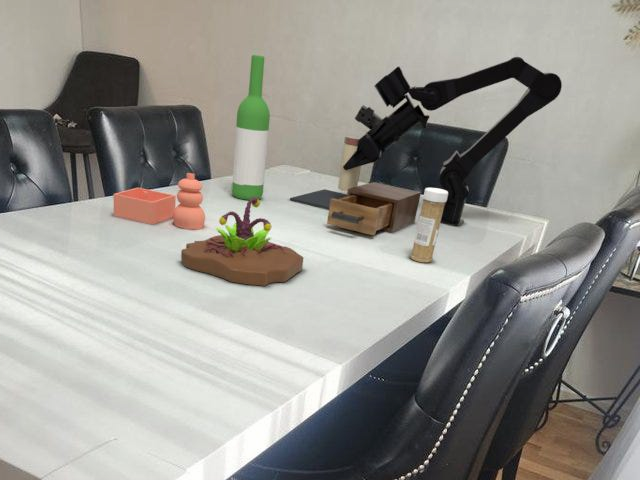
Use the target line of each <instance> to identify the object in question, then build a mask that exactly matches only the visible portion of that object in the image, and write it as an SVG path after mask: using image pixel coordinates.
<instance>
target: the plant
mask: <svg viewBox="0 0 640 480" xmlns="http://www.w3.org/2000/svg"><path fill="white" fill-rule="evenodd" d="M260 205H261V201H260V199H258V198H256V197H252V198H250V200H248V202H246V206H245V208H244V213H243V219H241V216H240V215H239V214H238V213H237V212H236V211H232V210H231V211H228V212H227V213H225V214H223V215H221V216H220V218H219V220H218V222H219V224H220V225H221V226H225V229H226V231H227V232H228V233H227V232H226V231H225V230H223V229H221V228H218V227H215V230H216V231H217V233H219V235H214V236H212V237H209V238H207V239H205V240H195V241H194V242H189V243H186V245H185V248H182V249H181V254H180V255H181V256H180V260H181V261H180V262H181V263H182V264H183V266H184V267H186V268H187V269H190V270H193V271H197V272H201V273H205V274H209V275H212V276H215V277H218V278H221V279H224V280H226V281H228V282H231V283H236V284H244V285H251V286H261V287H266V286H267V285H269V284H273V283H285V282H287V281H288V280H290V279H291V278H292V277H294V276H295V275H296V274H299V273H300V272H301V271H303V266H304V264H303V263H304V256H302V255H301V254H299V253H298V252H296V250H294V249H292V248H290V247H288V246H283V245H280V244H277V243H274V242H271V241H270V240H271V239H272V237H267V235H268V234H269V233H270V231H271V229H272V224H271V222H270V221H269V220H268V219H265V218H262V217H259V218H255V219H254V220H252V221H251V218H250V217H251V215H250V214H251V209H252V206H253V208H259V207H260ZM229 216H232V217H234V220H235V223H233V225H232V227H231V226H229V225H227V222H228V218H229ZM259 223H262V225H263V228H262V229H260V230H258V231H257V232H256V233H255V232H254V227H255V226H256V225H257V224H259Z"/></svg>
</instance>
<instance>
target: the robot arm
mask: <svg viewBox="0 0 640 480" xmlns="http://www.w3.org/2000/svg"><path fill="white" fill-rule="evenodd" d="M403 72H404V71H403V70H402V68H401V66H400V65H399V66H396V68H394V69H393V70H392V71H391V72H389V73H388V74H386V75H384V76H383V77H382V78H381V79H380V80H379V81H378V82H376V83H375V84H374V86H373V87H374V88H375V90H376V91H377V94H378V95H379V96H380V99H381V100H382V101H383V103H384V104H385V106H386V108H388V107H389V106H390V107H392V109H394V108H396V107H397V106H398V105H399V104H400V103H401V102H403V101H404V100H406V101H405V102H404V103H402V104H401V105H400V106H399V107H398V108H396V109H395V110H394V111H392V113H390V114H389V115H388V116H385V117H383V118H381V117H380V116H379V115H378V114H377V113H376V112H375V109H372V108H371V106H368V107H367V106H366V105H365V104H363V105H361V107H360V109H358V112H357V113H356V115H355V117H354V120H355V121H356V122H358V123H360V124H362V125H364V126H365V127H366V128H367V129H369V130H368V131H366V133H365V134H363V135H362V136H360V137H361V138H360V139H359V140H358V147H357V151H356V152H355V153H354V154H353V155H352V157H351V158H350V159H349V160H348V161H347V162H346V164H345V165H344V166H343V168H344V169H345V170H349V169H352V168H355V167H359V166H361V167H362V166H365V165H369V164H374V163H375V162H377V161H378V160H379V159H380V158H381V156H382V154H383V153H384V152H386V151H387V150H388V149H389V148H390V147H391V146H392V145H394V144H396V142H398V141H399V140H401V138H403V137H404V136H405V135H406V134H407V133H410V131H411V130H412V129H414V128H415V127H416V126H417V125H418V124H420V125H421V127H422V128H423V129H426V128H427V127H428V121H429V119H430V117H431V116H430V115H428V114H425V113H424V111H423V110H422V108H421V106H422V107H423V109H425V110H427V111H429V112H431V111H432V112H433V111H436V110H438V109H440V108H442V107H443V106H445V105H447V104H449V103H451V102H452V101H454V100H456V99H458V98H460V97H461V96H463V95H466V94H470V93H472V92H475V91H478V90H481V89H483V88H487V87H490V86H492V85H495V84H499V83H501V82H504V81H507V80H510V79H514V80H516V81H517V82H518V83H520V84H521V85H523V86H524V87H526V88H527V89H526V90H525V92H524V93H523V94H522V96H521V97H520V98H519V100H518V101H517V103H516V104H515V105H514V106H513V107H512V108H511V109H510V110H508V111H507V112H506V113H505V114H504V115H503V116H502V117H501V118H500V119H499V120H498V121H496V123H495V124H494V125H492V127H491V128H489V129H488V130H487V131H486V132H485V133H484V134H483V135H482V136H481V137H480V138H479V139H478V140H476V142H474V143H473V144H472V145H471V146H470V147H469V148H468V149H467V150H466V151H463V152H462V153H459V151H458V150H455V151H454V153H453V154H452V155H451V156H450V158H448V159H447V160H445V161H443V163H442V165H443V166H442V167H441V169H440V172H439V184H440V186H441V187H442V188H443V190H446V191H448V197H447V201H446V202H445V205H444V209H443V213H442V217H441V221H440V223H443V224H448V225H451V226H456V227H457V226H459V225H462V224H463V223H465V220H464V219H462V215H463V212H464V208H465V204H466V200H467V197H468V195H469V194H470V191H469V186H468V184H467V183H466V180H467V178H468V177H469V176H470V174H471V173H472V172H473V170H474V169H475V167H476V166H477V165H478V164H479V162H480V161H482V159H483V158H485V157H486V156H487V155H488V154H489V153H490V152H491V151H492V150H493V149H494V148H496V147H497V146H498V145H499V144H500V143H501V142H502V141H503V140H504V139H506V137H508V136H509V135H510V134H511V133H512V132H513V131H514V130H515V129H516V128H517V127H518V126H519V125H520V124H522V123H523V122H524V121H525V120H526V119H527V118H528V117H530V116H531V115H533V114H535V113H537V112H538V111H540V110H541V109H543V108H544V107H546V106H547V105H550V103H552V102H553V101H555V100H556V99H557V98H558V97H559V96H560V94H561V91H562V87H563V85H562V83H563V82H562V80H561V78H560V76H558V74H556V73H553V72H542V71H541V70H540V69H537V68H536V67H534V66H533V65H531V64H529V63H528V62H526V61H525V60H524V59H523V58H522V57H520V56H513V57H511V58H510V59H508V60H506V61H503V62H500V63H497V64H494V65H491V66H489V67H485V68H483V69H479V70H476V71H474V72H471V73H468V74H466V75H463V76H460V77H454V78H447V79H440V80H434V81H430V82H428V83H426V84H425V85H424V86H416V85H414V86H412V87H411V85H410V83H409V81H408V80H407V79H406V77H405V75H404V73H403ZM408 94H409V95H408ZM409 96H410V97H411V99H410V97H409ZM412 100H415V101H417V102H419V103H420V104H417V105H414V103H413V101H412ZM420 105H421V106H420Z"/></svg>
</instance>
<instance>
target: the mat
mask: <svg viewBox="0 0 640 480" xmlns="http://www.w3.org/2000/svg"><path fill="white" fill-rule="evenodd" d="M344 197H347V193H342V192H338V191H335V190H330V189H325V188H324V189H319V190H316V191H312V192H308V193H305V194H300V195H296V196H292V197H290V198H289V201H290V202H295V203H300V204H304V205H309V206H311V207H317V208H320V209H324V210H328V211H329V207H330V200H331V199H332V198H334V199H340V198H344Z"/></svg>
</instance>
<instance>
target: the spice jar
mask: <svg viewBox="0 0 640 480" xmlns="http://www.w3.org/2000/svg"><path fill="white" fill-rule="evenodd" d="M447 197H448V191H446V190H445V189H444V188H443V189H442V188H438V187H425V188H424V193H423V196H422V205H421V209H420V213H419V217H418V221H417V225H416V231H415V234H414V239H413V245H412V249H411V254H410V259H412V261H415V262H418V263H426V264H428V263H431V262H432V261H433V255H434V252H435V248H436V244H437V240H438V235H439V231H440V227H441V222H440V221H441V217H442V213H443V209H444V205H445V202H446V201H447Z"/></svg>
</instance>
